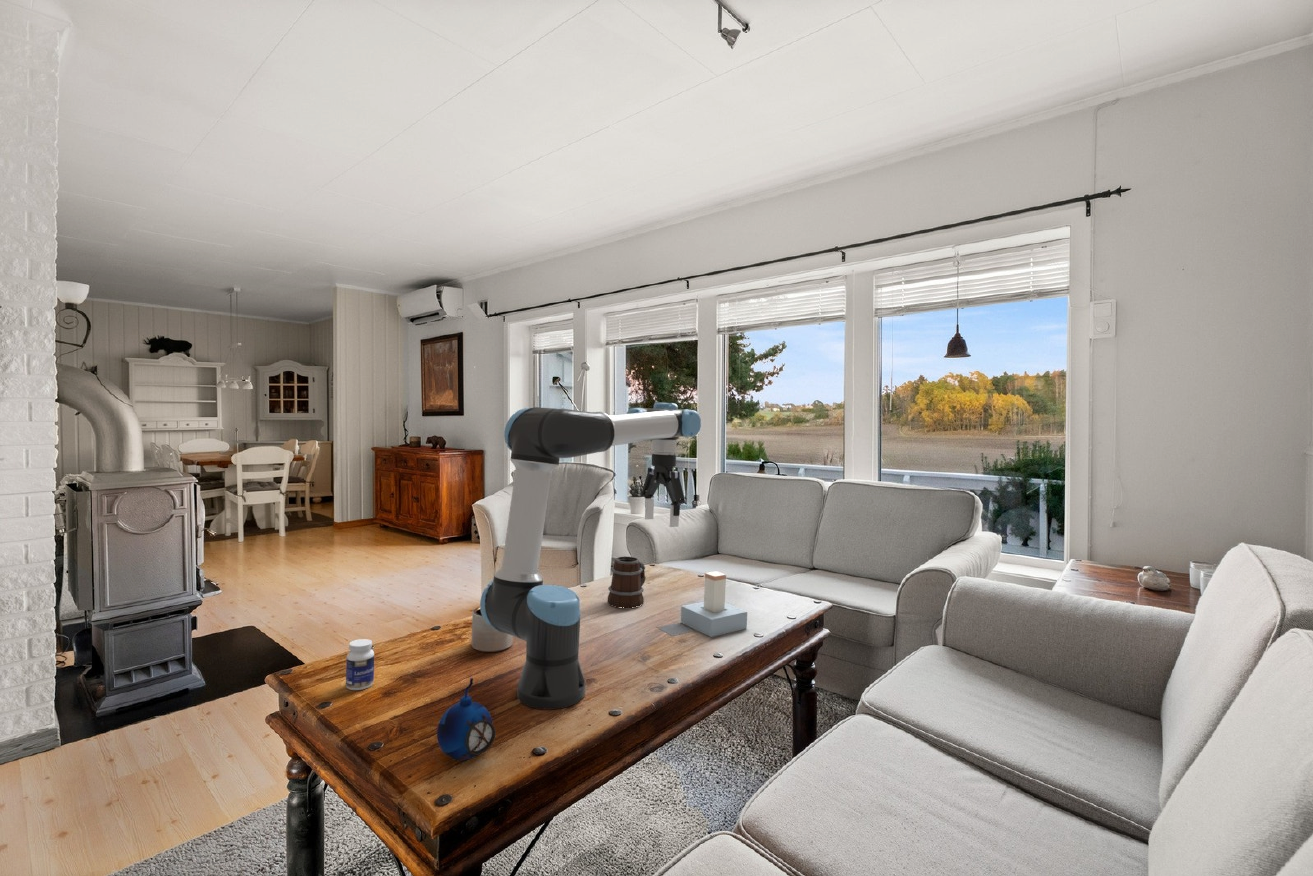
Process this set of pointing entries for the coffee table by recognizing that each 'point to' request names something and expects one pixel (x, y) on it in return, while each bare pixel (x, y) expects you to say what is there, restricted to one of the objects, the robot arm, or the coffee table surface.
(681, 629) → the mat
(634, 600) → the mug
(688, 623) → the socket block
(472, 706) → the bomb
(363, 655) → the pill bottle
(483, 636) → the planter
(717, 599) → the peg
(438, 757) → the coffee table surface
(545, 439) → the robot arm
